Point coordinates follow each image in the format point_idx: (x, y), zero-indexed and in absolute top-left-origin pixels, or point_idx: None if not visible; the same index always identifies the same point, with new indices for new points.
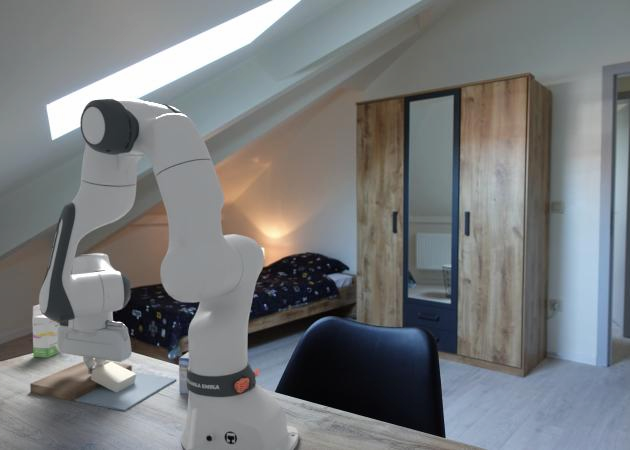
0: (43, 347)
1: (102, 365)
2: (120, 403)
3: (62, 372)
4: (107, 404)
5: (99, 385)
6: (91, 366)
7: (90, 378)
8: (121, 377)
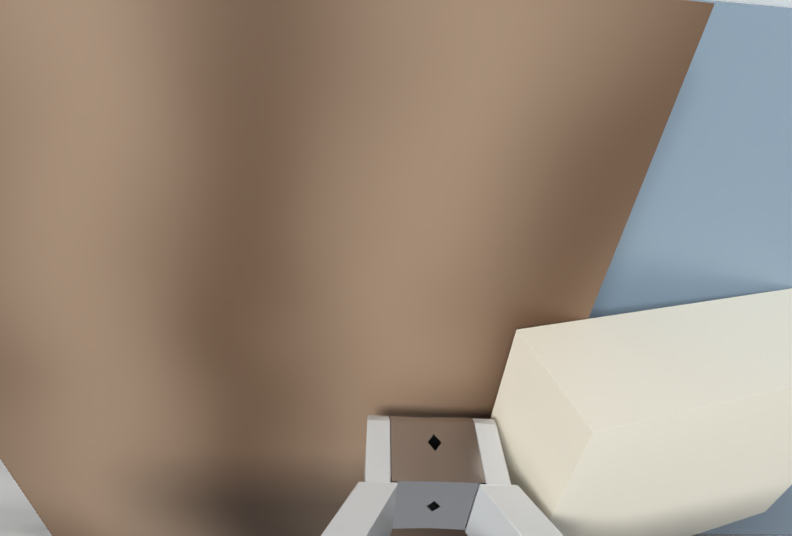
0: None
1: (528, 507)
2: (771, 508)
3: (35, 431)
4: None
5: None
6: (393, 519)
7: None
8: (777, 475)
